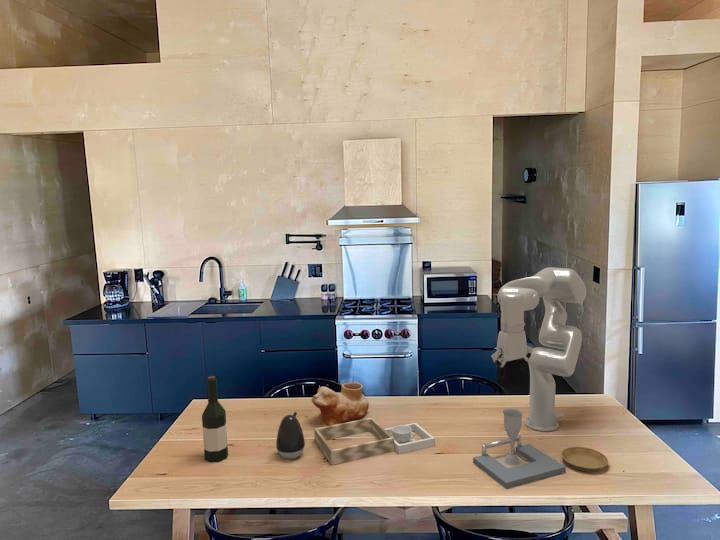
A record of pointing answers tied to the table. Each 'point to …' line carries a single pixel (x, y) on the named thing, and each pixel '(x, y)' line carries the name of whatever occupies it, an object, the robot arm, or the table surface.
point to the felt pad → (507, 464)
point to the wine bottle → (214, 426)
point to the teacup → (402, 434)
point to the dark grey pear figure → (290, 437)
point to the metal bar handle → (500, 443)
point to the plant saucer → (584, 459)
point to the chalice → (512, 431)
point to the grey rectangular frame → (521, 467)
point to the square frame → (415, 445)
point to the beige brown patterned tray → (355, 451)
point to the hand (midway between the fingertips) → (512, 374)
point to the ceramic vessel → (341, 404)
